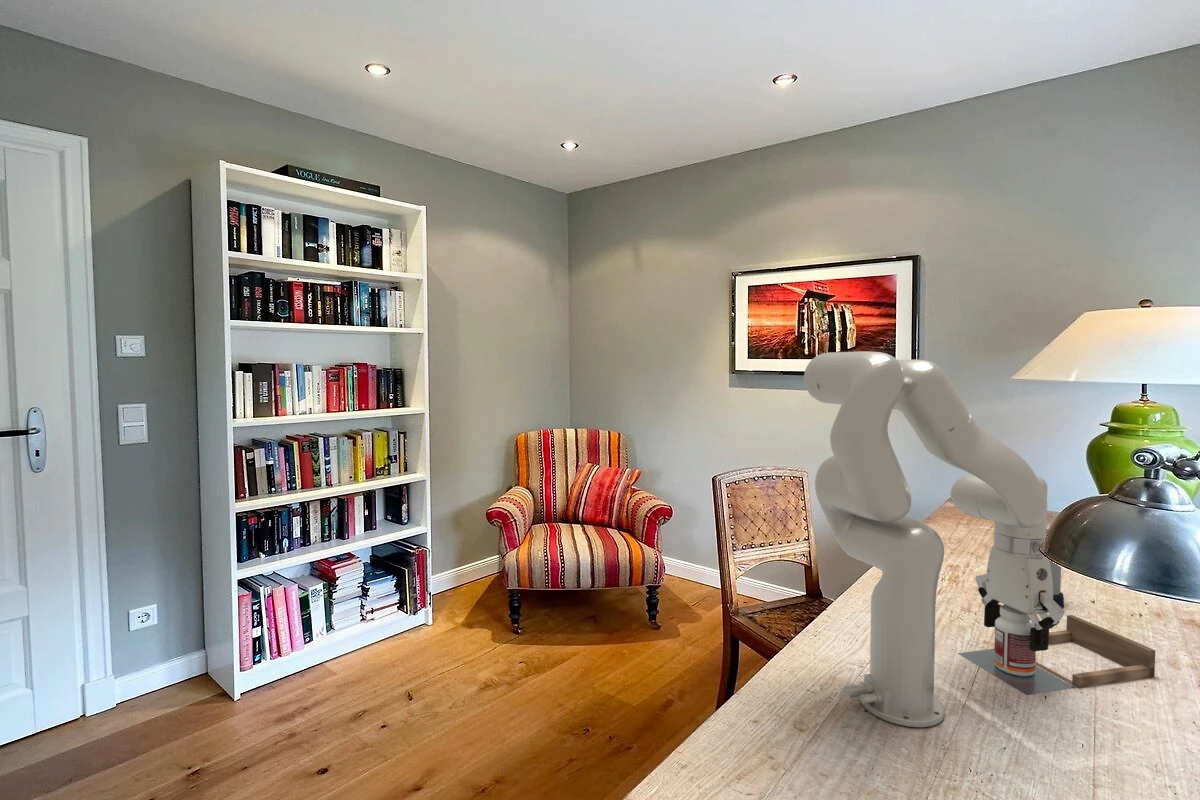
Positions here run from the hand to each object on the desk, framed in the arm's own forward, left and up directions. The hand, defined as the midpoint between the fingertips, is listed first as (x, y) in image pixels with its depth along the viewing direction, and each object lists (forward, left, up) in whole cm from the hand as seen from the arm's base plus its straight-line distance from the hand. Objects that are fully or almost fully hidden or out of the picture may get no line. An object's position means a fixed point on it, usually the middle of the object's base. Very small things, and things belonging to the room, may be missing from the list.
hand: (1014, 637), depth 111 cm
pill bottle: (0, 0, -6) cm, 6 cm away
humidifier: (+34, +26, -7) cm, 44 cm away
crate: (+13, 0, -7) cm, 15 cm away
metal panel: (+5, 0, -6) cm, 8 cm away
